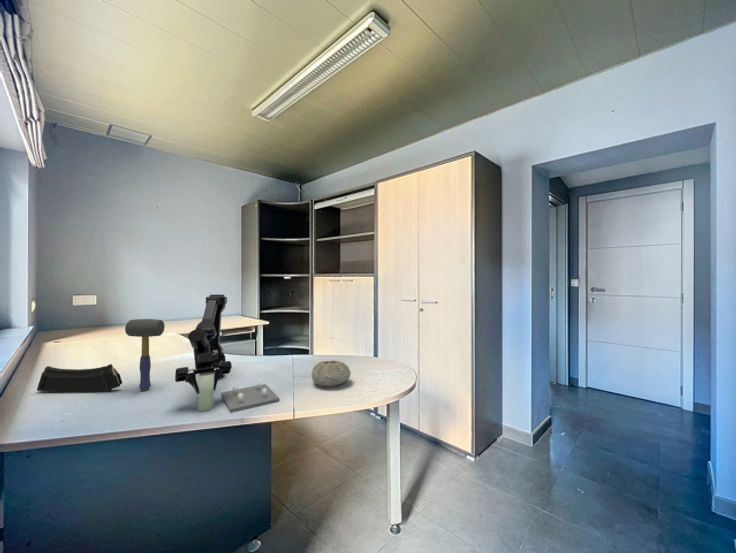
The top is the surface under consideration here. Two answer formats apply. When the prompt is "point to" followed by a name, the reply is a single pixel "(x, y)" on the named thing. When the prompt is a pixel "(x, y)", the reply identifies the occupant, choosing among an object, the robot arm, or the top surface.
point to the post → (205, 391)
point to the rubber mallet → (145, 344)
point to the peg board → (248, 397)
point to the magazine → (79, 380)
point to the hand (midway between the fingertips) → (206, 391)
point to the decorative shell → (330, 373)
